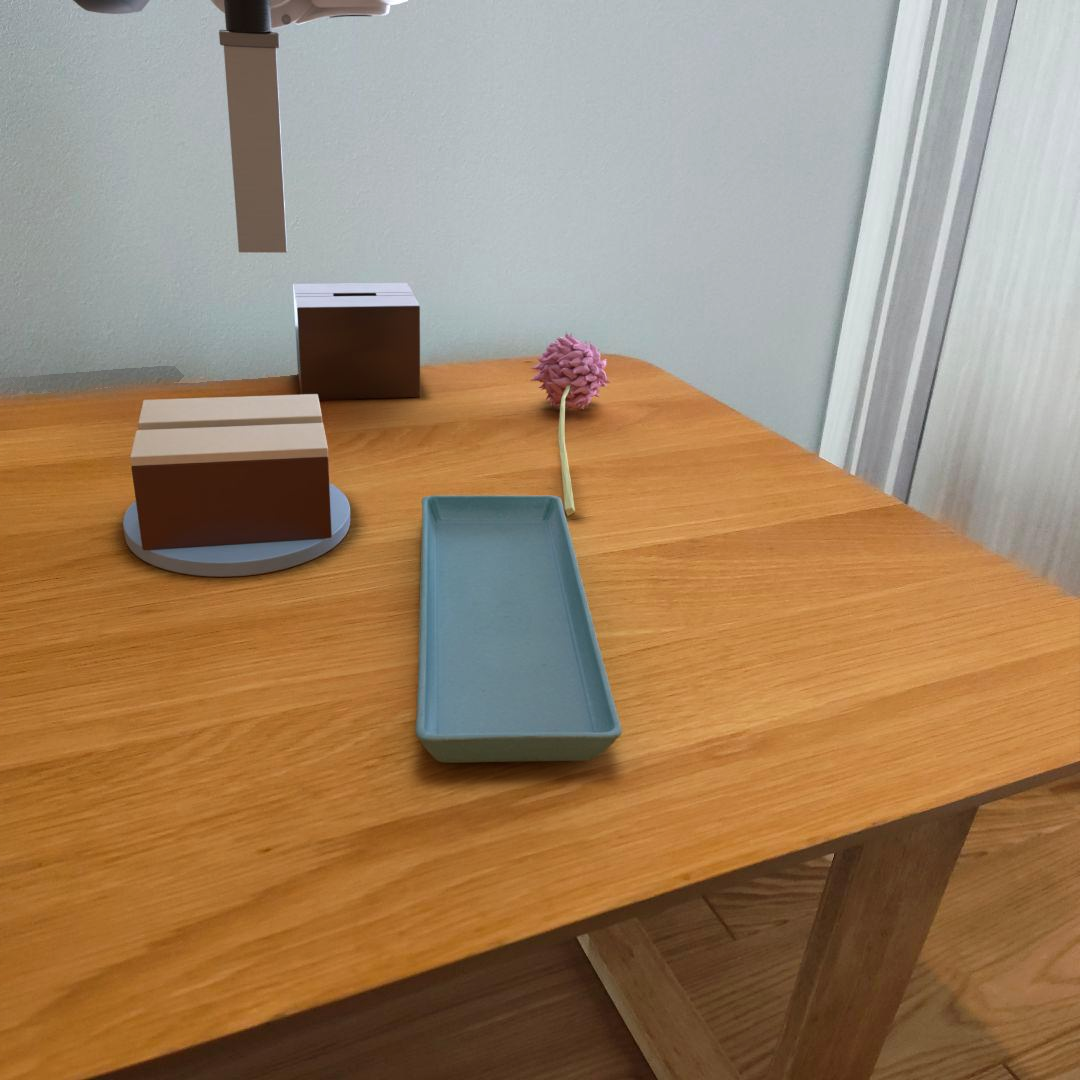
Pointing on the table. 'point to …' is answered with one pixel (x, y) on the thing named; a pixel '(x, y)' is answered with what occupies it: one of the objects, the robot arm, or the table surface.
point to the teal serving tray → (507, 636)
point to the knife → (254, 125)
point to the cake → (232, 485)
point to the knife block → (357, 340)
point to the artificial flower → (570, 388)
